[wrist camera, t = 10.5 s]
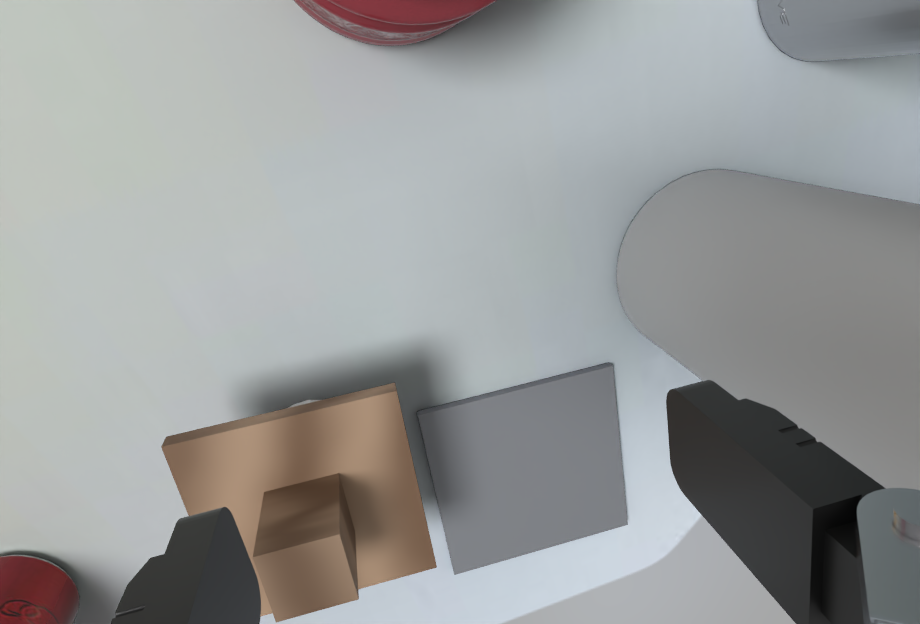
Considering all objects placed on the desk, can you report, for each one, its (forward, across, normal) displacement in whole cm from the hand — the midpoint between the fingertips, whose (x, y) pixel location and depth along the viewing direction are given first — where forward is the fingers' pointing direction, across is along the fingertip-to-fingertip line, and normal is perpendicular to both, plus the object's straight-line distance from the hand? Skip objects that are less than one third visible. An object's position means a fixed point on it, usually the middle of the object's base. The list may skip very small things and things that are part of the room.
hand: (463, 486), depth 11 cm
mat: (+28, -7, +21) cm, 35 cm away
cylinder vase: (+28, -21, +8) cm, 36 cm away
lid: (+21, +7, +14) cm, 26 cm away
